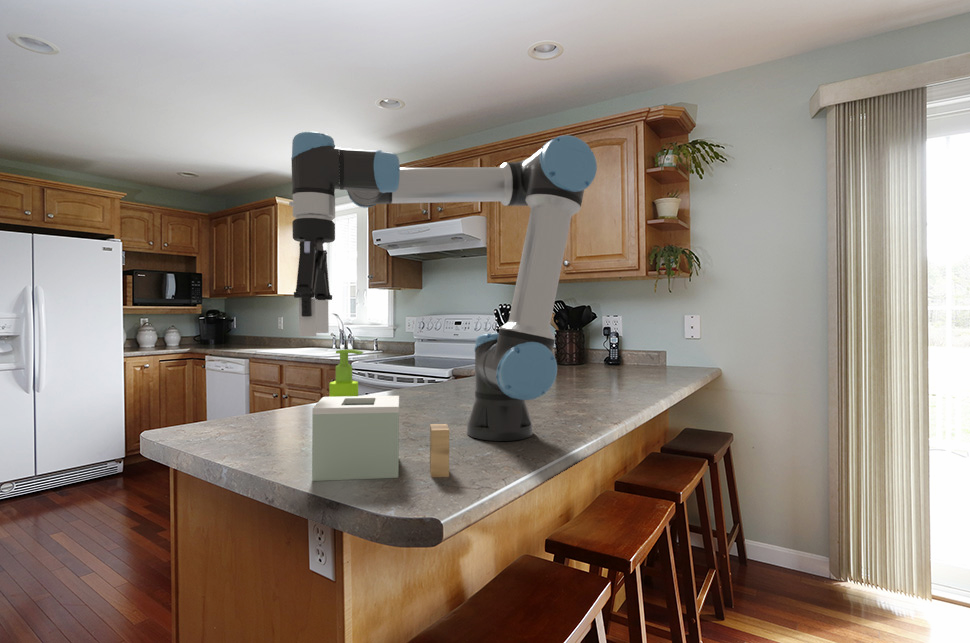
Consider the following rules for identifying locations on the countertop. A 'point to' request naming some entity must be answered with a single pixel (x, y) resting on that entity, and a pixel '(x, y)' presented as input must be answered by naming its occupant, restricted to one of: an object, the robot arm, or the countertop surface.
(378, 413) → the coin box
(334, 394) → the soap dispenser
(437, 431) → the white tan block
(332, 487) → the countertop surface
